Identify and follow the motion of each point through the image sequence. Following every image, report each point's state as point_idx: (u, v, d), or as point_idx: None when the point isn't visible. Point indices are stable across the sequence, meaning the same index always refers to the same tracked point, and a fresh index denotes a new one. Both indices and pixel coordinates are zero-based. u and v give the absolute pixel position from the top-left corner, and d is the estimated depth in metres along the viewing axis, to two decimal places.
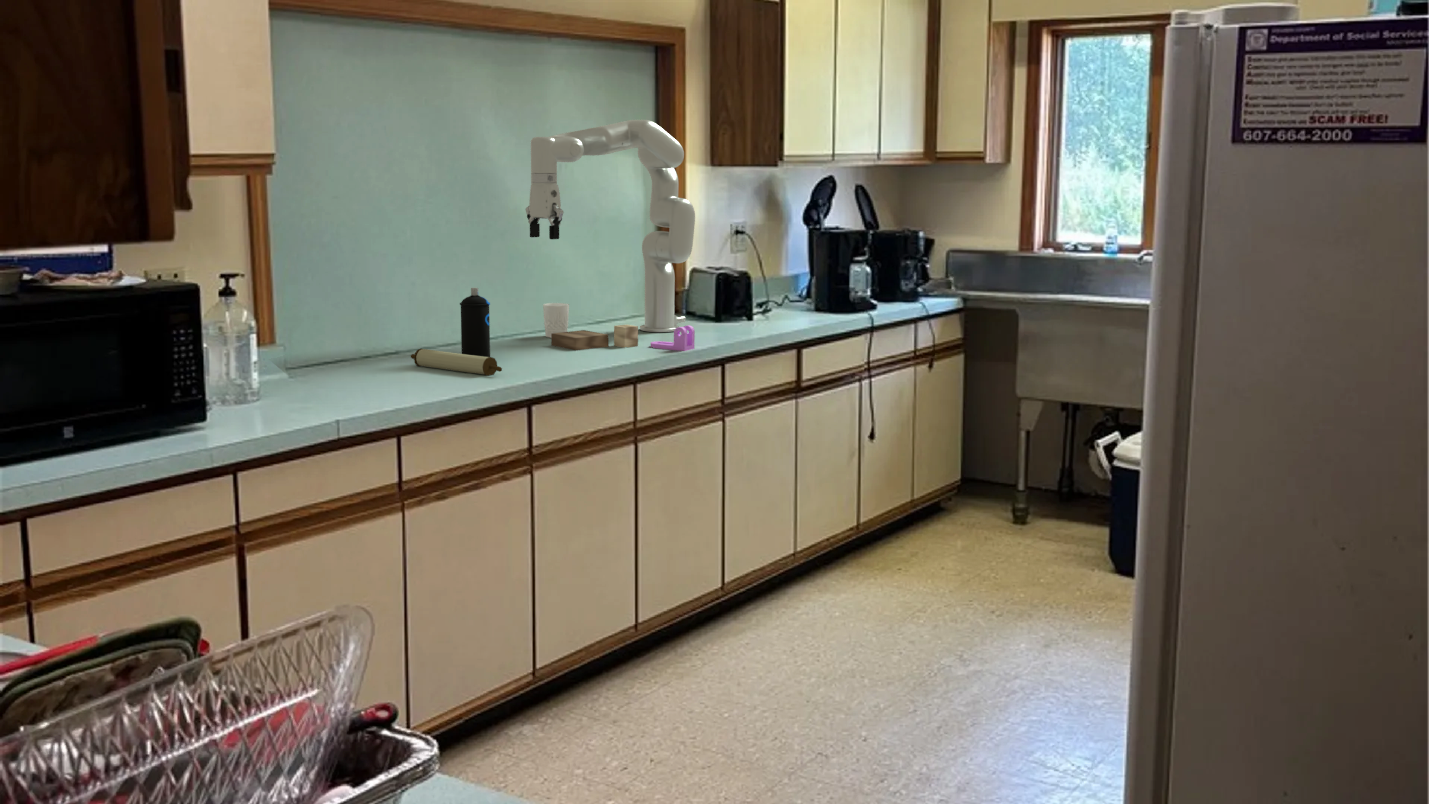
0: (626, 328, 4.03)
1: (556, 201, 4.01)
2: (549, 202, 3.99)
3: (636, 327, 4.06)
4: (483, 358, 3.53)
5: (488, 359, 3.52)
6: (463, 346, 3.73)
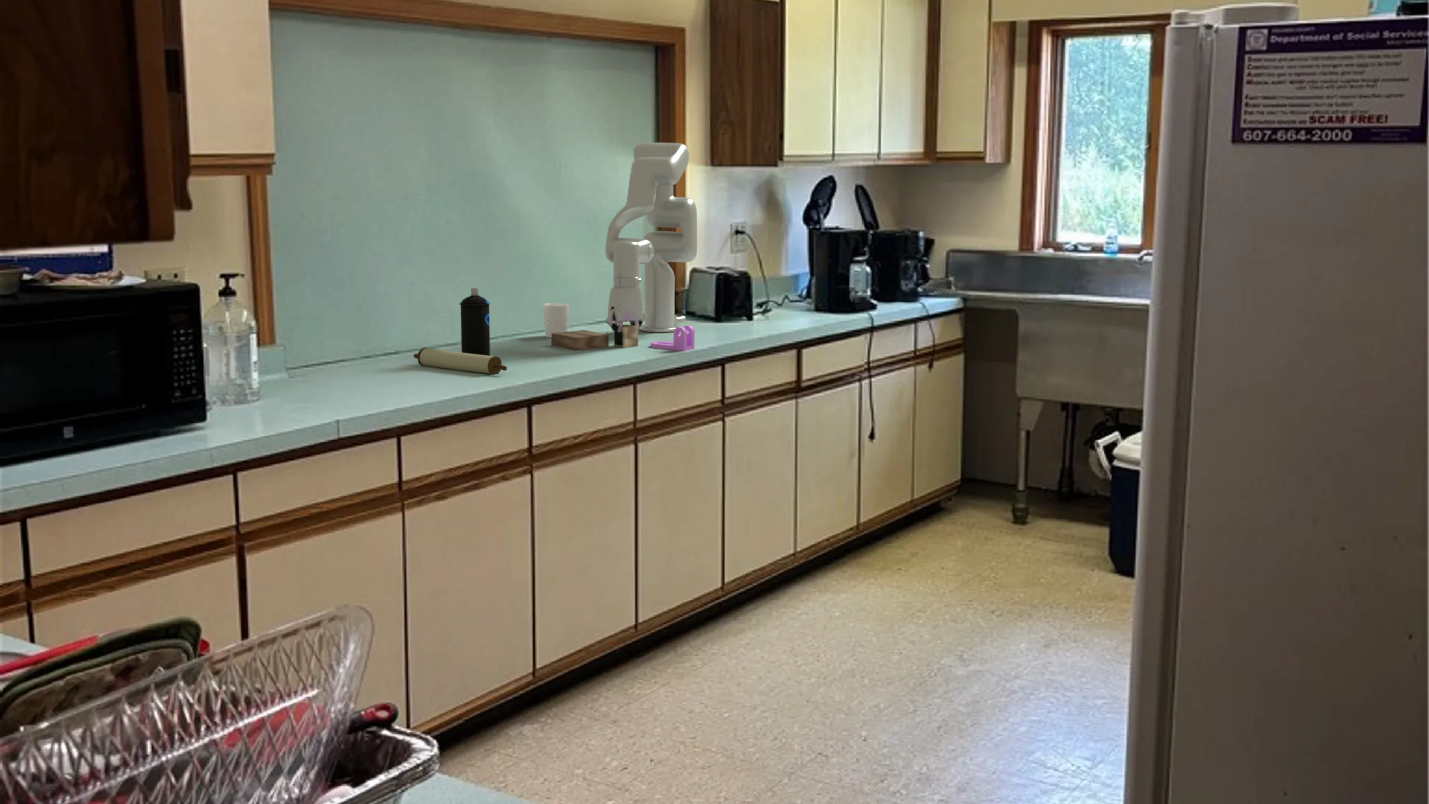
0: (626, 328, 4.03)
1: None
2: None
3: (636, 327, 4.06)
4: (488, 357, 3.55)
5: (493, 358, 3.54)
6: (463, 346, 3.73)
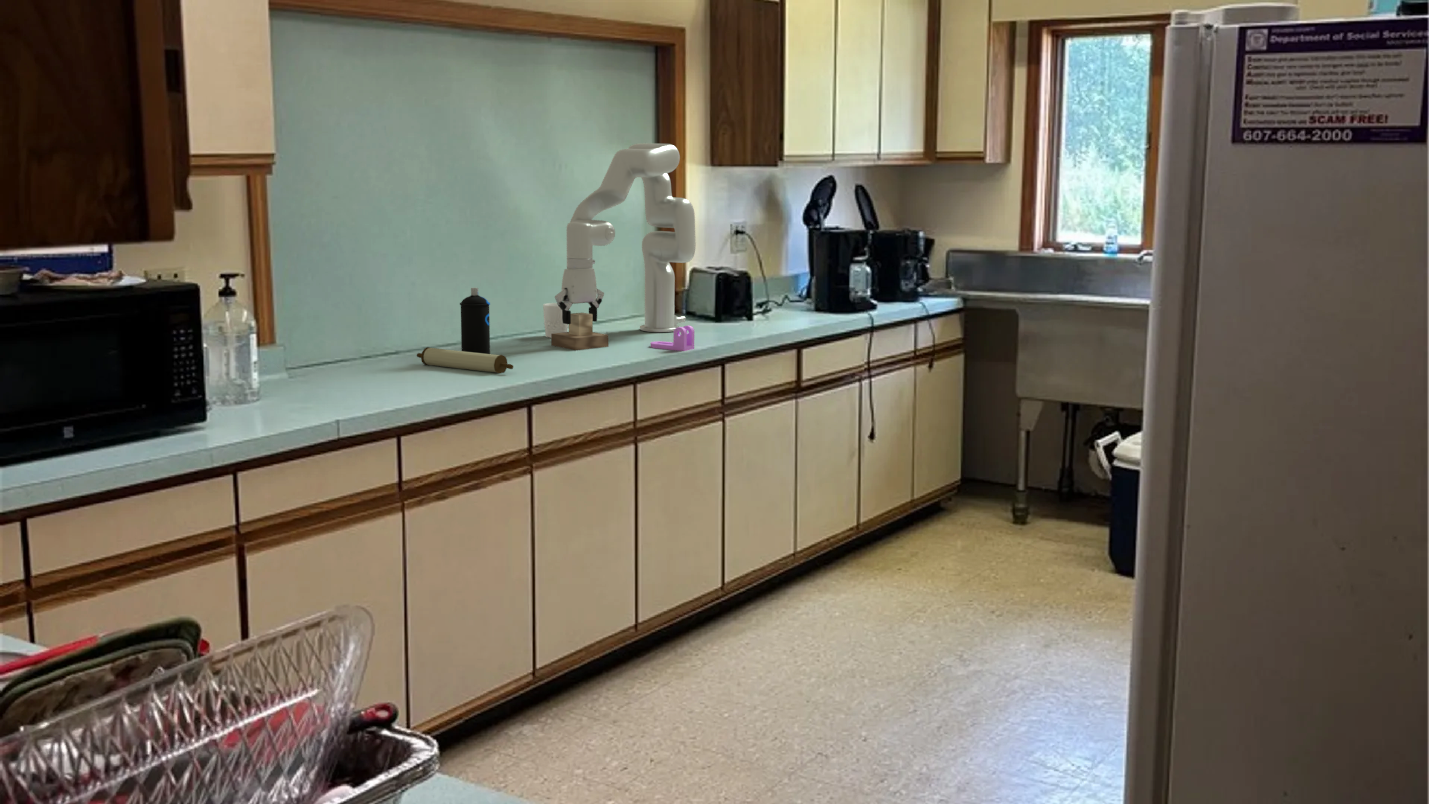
0: (580, 316, 4.01)
1: None
2: None
3: (591, 315, 4.04)
4: (494, 356, 3.57)
5: (499, 357, 3.56)
6: (463, 346, 3.73)
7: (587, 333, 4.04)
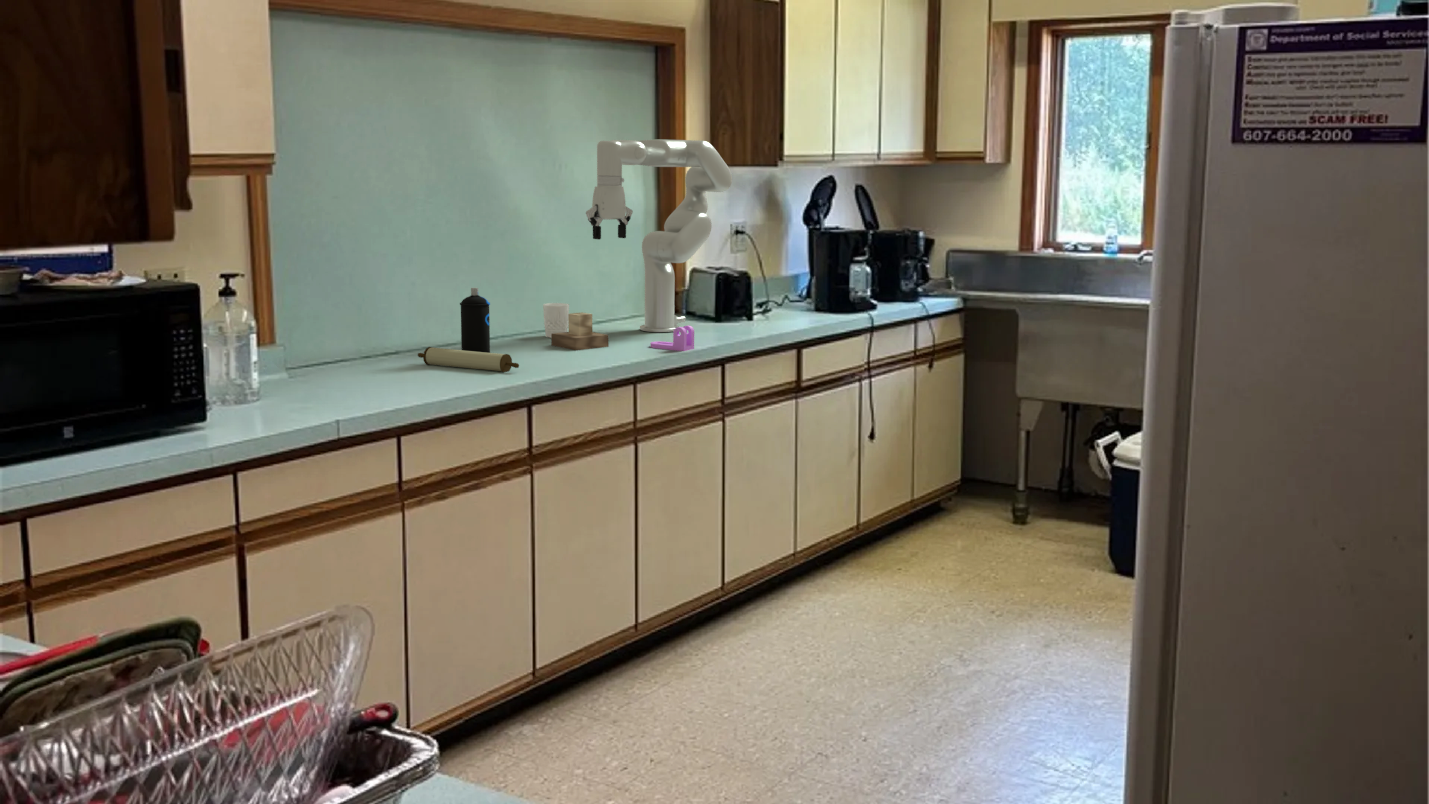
0: (580, 316, 4.01)
1: None
2: None
3: (590, 315, 4.04)
4: (499, 355, 3.59)
5: (504, 356, 3.58)
6: (463, 346, 3.73)
7: (587, 333, 4.04)
